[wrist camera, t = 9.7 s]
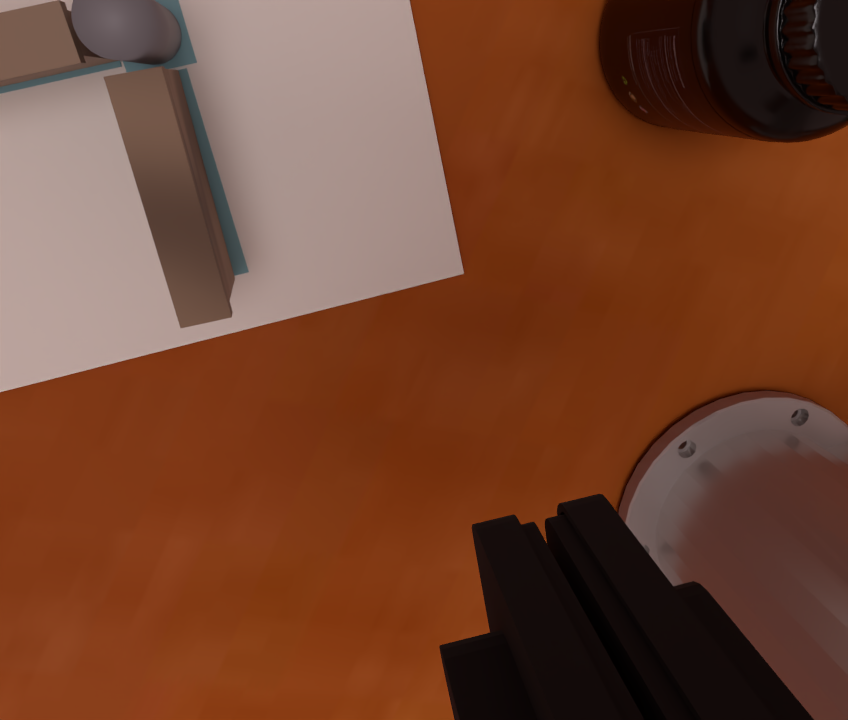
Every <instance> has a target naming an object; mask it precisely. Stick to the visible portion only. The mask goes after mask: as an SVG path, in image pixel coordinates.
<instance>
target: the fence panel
mask: <svg viewBox="0 0 848 720" xmlns="http://www.w3.org/2000/svg"><path fill="white" fill-rule="evenodd" d="M104 80H105V83H106V87H107V90H108V93H109V97H110V100H111V103H112V106H113V110H114V113H115V116H116V119H117V123H118V126H119V129H120V132H121V136H122V139H123V142H124V145H125V149H126V152H127V155H128V159H129V162H130V165H131V168H132V172H133V175H134V178H135V181H136V185H137V188H138V191H139V194H140V198H141V201H142V204H143V207H144V211H145V214H146V217H147V220H148V224H149V227H150V230H151V234H152V237H153V240H154V243H155V247H156V250H157V253H158V256H159V260H160V263H161V266H162V269H163V273H164V276H165V279H166V282H167V286H168V289H169V292H170V295H171V299H172V302H173V305H174V309H175V312H176V315H177V318H178V322H179V325H180V328H185V327H190V326H194V325H199V324H204V323H208V322H213V321H217V320H222V319H227V318H231V317H232V313H233V311H232V308H231V304H230V297H231V293H232V289H233V285H234V281H235V277H234V273H233V269H232V266H231V262H230V258H229V255H228V251H227V247H226V244H225V240H224V236H223V233H222V229H221V225H220V222H219V218H218V214H217V211H216V207H215V203H214V200H213V196H212V192H211V189H210V185H209V181H208V178H207V174H206V170H205V167H204V163H203V159H202V156H201V152H200V148H199V145H198V141H197V137H196V134H195V130H194V126H193V123H192V119H191V115H190V112H189V108H188V104H187V101H186V97H185V93H184V90H183V86H182V82H181V79H180V75H179V71H178V70H172V69H165V67H164V66H160V67H154V68H149V69H143V70H138V71H132V72H127V73H122V74H116V75H111V76H105V77H104Z"/></svg>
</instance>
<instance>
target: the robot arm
mask: <svg viewBox="0 0 848 720" xmlns="http://www.w3.org/2000/svg"><path fill="white" fill-rule="evenodd" d="M545 531H546V538H547V543H546V542H545V540H544V538H543V536H542V534H541V533H540V531H539V529H538V527H537V525H536V524H535V523H534V522H530V523H526V524H522V525H521V524H520V522H519V520H518V519H517V517H516V516H515V515H510V516H506V517H501V518H497V519H493V520H489V521H485V522H481V523H477V524H473V525H472V532H473V539H474V544H475V550H476V556H477V561H478V567H479V572H480V578H481V584H482V589H483V595H484V600H485V606H486V612H487V617H488V623H489V628H490V633H487V634H483V635H479V636H475V637H471V638H467V639H463V640H459V641H456V642H452V643H448V644H444V645H440V653H441V658H442V663H443V668H444V672H445V677H446V682H447V687H448V691H449V696H450V701H451V705H452V710H453V714H454V719H455V720H848V425H847V424H846V423H844V422H843V421H842V420H841V419H839V418H838V417H837V416H836V415H835V414H833V413H832V412H831V411H829V410H827V409H826V408H824V407H822V406H820V405H819V404H817V403H815V402H813V401H812V400H810V399H807V398H804V397H801V396H798V395H795V394H792V393H786V392H776V391H757V392H746V393H740V394H737V395H733V396H730V397H726V398H722V399H719V400H717V401H715V402H712V403H710V404H708V405H706V406H704V407H702V408H700V409H698V410H695V411H694V412H692V413H691V414H689V415H688V416H687V417H685V418H684V419H682V420H681V421H679V422H678V423H676V424H675V425H673V426H672V427H671V428H670V429H669V430H668V431H667V432H666V433H665V434H664V435H663V436H662V437H661V438H659V439H658V440H657V441H656V442H655V443H654V444H653V446H652V447H651V448H650V449H649V451H648V452H647V453H646V455H645V456H644V457H643V459H642V460H641V461H640V462H639V464H638V465H637V467H636V469H635V471H634V473H633V475H632V477H631V478H630V480H629V482H628V484H627V486H626V489H625V492H624V495H623V498H622V501H621V504H620V507H619V513H617V512H616V511H615V509H614V508H613V507H612V505H611V504H610V503H609V501H608V500H607V499H606V498H605V497H604V496H603V495H602V494H597V495H593V496H589V497H584V498H580V499H576V500H572V501H568V502H564V503H560V504H559V505H558V508H557V516H555V517H551V518H547V519H546V520H545Z"/></svg>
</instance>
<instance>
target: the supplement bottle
mask: <svg viewBox="0 0 848 720" xmlns="http://www.w3.org/2000/svg"><path fill="white" fill-rule="evenodd" d="M600 55H601V62H602V66H603V70H604V73H605V76H606V79H607V81H608V83H609V86H610V87H611V89H612V91H613V93H614V94H615V96H616V97H617V98H618V100H619V101H620V102H621V103H622V104H623V106H624V107H626V108H627V109H628V110H629V111H630V112H631V113H633V114H634V115H635V116H637V117H639V118H640V119H642V120H644V121H646V122H649V123H651V124H654V125H657V126H661V127H666V128H672V129H677V130H685V131H692V132H700V133H707V134H715V135H722V136H730V137H738V138H745V139H753V140H760V141H768V142H783V143H790V142H803V141H809V140H813V139H817V138H821V137H824V136H826V135H829V134H832V133H834V132H836V131H838V130H840V129H842V128H844V127H846V126H847V125H848V0H608V2H607V4H606V7H605V10H604V14H603V18H602V22H601V29H600Z"/></svg>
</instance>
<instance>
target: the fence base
mask: <svg viewBox="0 0 848 720" xmlns="http://www.w3.org/2000/svg"><path fill="white" fill-rule="evenodd" d="M160 66H164V67H165V69H172V70H178V71H179V75H180V79H181V82H182V86H183V90H184V93H185V97H186V101H187V104H188V108H189V112H190V115H191V119H192V123H193V126H194V130H195V134H196V137H197V141H198V145H199V148H200V152H201V156H202V159H203V163H204V167H205V170H206V174H207V178H208V181H209V185H210V189H211V192H212V196H213V200H214V203H215V207H216V211H217V214H218V218H219V222H220V225H221V229H222V233H223V236H224V240H225V244H226V247H227V251H228V255H229V258H230V262H231V266H232V269H233V273H234V277H235V281H234V285H233V289H232V293H231V297H230V304H231V308H232V311H233V313H232V317H231V318H227V319H222V320H217V321H213V322H208V323H204V324H199V325H194V326H190V327H185V328H180V325H179V322H178V318H177V315H176V312H175V309H174V305H173V302H172V299H171V295H170V292H169V289H168V286H167V282H166V279H165V276H164V273H163V269H162V266H161V263H160V260H159V256H158V253H157V250H156V247H155V243H154V240H153V237H152V234H151V230H150V227H149V224H148V220H147V217H146V214H145V211H144V207H143V204H142V201H141V198H140V194H139V191H138V188H137V185H136V181H135V178H134V175H133V172H132V168H131V165H130V162H129V159H128V155H127V152H126V149H125V145H124V142H123V139H122V136H121V132H120V129H119V126H118V123H117V119H116V116H115V113H114V110H113V106H112V103H111V100H110V97H109V93H108V90H107V87H106V83H105V80H104V77H105V76H111V75H116V74H122V73H127V72H132V71H138V70H143V69H149V68H154V67H160ZM461 274H464V271H463V266H462V261H461V256H460V251H459V246H458V241H457V236H456V231H455V226H454V221H453V216H452V211H451V206H450V201H449V196H448V191H447V186H446V181H445V176H444V171H443V166H442V161H441V156H440V151H439V146H438V141H437V136H436V131H435V126H434V121H433V116H432V111H431V106H430V101H429V96H428V91H427V86H426V81H425V76H424V71H423V66H422V61H421V56H420V51H419V46H418V41H417V36H416V31H415V26H414V21H413V16H412V11H411V5H410V0H0V392H2V391H6V390H10V389H14V388H18V387H22V386H26V385H30V384H34V383H38V382H42V381H46V380H49V379H53V378H57V377H61V376H65V375H69V374H73V373H77V372H81V371H85V370H89V369H93V368H97V367H100V366H104V365H108V364H112V363H116V362H120V361H124V360H128V359H132V358H136V357H140V356H144V355H147V354H151V353H155V352H159V351H163V350H167V349H171V348H175V347H179V346H183V345H187V344H191V343H195V342H198V341H202V340H206V339H210V338H214V337H218V336H222V335H226V334H230V333H234V332H238V331H242V330H245V329H249V328H253V327H257V326H261V325H265V324H269V323H273V322H277V321H281V320H285V319H289V318H293V317H296V316H300V315H304V314H308V313H312V312H316V311H320V310H324V309H328V308H332V307H336V306H340V305H343V304H347V303H351V302H355V301H359V300H363V299H367V298H371V297H375V296H379V295H383V294H387V293H391V292H394V291H398V290H402V289H406V288H410V287H414V286H418V285H422V284H426V283H430V282H434V281H438V280H441V279H445V278H449V277H453V276H457V275H461Z"/></svg>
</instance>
